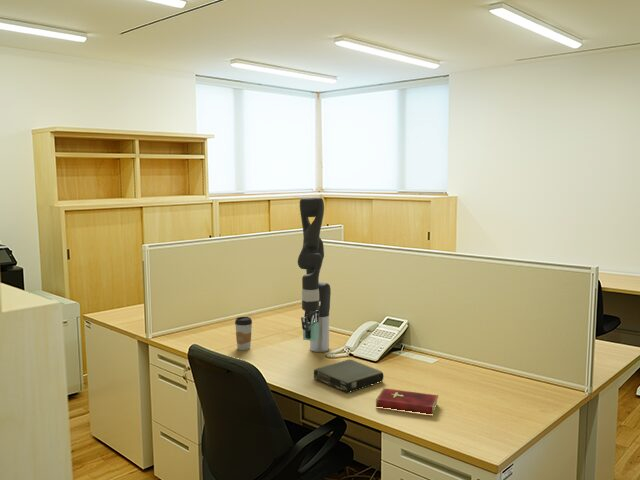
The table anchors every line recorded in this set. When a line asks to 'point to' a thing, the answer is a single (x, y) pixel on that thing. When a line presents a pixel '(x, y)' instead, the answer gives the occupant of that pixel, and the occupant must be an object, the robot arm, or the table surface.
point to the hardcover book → (407, 401)
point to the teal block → (312, 332)
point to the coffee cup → (243, 332)
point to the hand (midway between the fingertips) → (310, 336)
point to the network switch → (348, 375)
